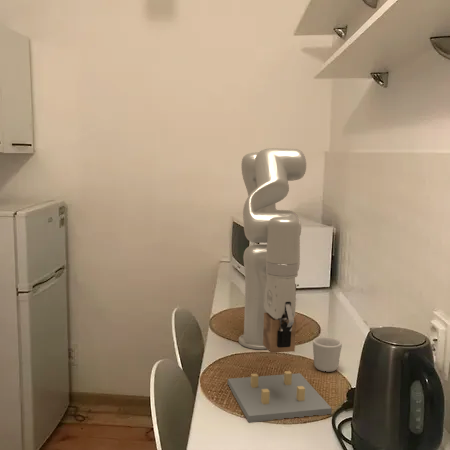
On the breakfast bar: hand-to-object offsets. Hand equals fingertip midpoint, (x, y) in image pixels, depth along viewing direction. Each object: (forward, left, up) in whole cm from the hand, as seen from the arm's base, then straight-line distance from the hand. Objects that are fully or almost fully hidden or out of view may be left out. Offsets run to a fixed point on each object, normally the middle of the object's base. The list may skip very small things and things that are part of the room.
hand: (279, 341), depth 128 cm
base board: (0, 0, -15) cm, 15 cm away
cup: (-16, +21, -15) cm, 30 cm away
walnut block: (0, 0, -2) cm, 2 cm away
